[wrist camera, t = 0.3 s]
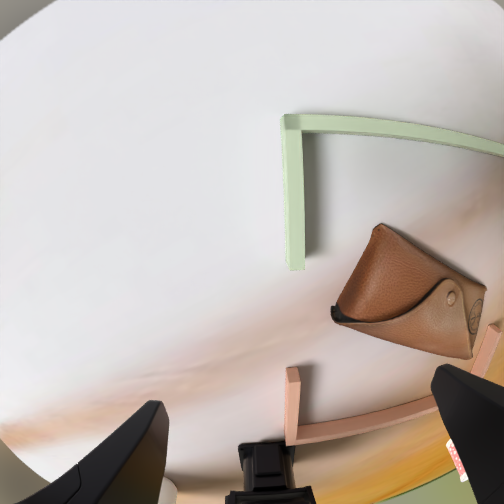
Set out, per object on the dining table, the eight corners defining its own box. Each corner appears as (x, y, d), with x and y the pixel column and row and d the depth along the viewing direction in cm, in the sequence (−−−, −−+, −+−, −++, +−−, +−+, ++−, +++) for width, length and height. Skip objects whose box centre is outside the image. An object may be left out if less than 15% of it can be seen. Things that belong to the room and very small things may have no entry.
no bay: (468, 385, 27) (475, 393, 25) (284, 432, 27) (286, 446, 25) (493, 323, 24) (502, 331, 22) (285, 368, 24) (288, 382, 22)
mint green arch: (512, 243, 21) (524, 248, 19) (285, 260, 21) (289, 270, 19) (517, 152, 18) (530, 153, 16) (280, 119, 18) (284, 114, 16)
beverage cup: (474, 427, 32) (505, 476, 18) (450, 449, 33) (477, 498, 20) (463, 425, 30) (497, 479, 17) (437, 448, 32) (466, 503, 18)
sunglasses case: (491, 284, 22) (508, 337, 18) (449, 318, 27) (459, 368, 23) (373, 217, 20) (388, 288, 15) (327, 271, 25) (327, 338, 20)
